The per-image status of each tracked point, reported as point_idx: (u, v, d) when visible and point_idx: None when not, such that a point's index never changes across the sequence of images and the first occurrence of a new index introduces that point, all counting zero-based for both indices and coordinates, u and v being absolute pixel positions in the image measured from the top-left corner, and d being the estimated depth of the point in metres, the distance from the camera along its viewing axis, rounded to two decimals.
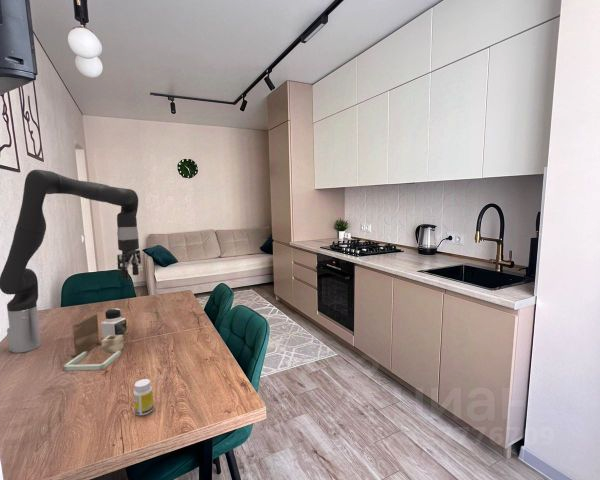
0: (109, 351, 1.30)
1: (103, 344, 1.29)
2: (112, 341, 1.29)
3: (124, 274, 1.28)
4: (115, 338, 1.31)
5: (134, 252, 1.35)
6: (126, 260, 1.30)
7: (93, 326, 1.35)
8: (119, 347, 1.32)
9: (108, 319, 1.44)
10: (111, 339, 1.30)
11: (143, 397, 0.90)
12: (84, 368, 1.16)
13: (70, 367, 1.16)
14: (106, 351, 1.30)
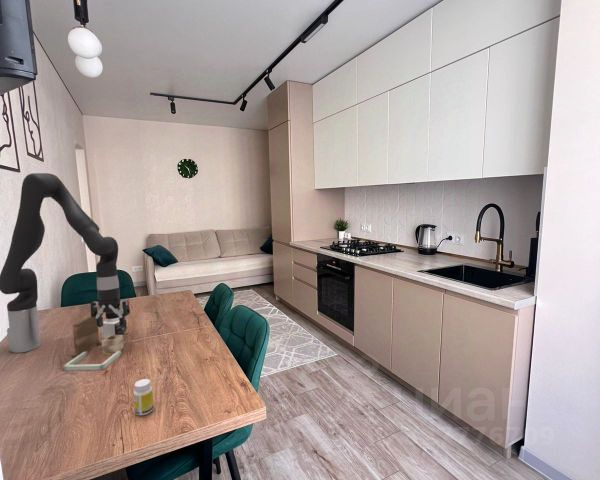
0: (109, 351, 1.30)
1: (103, 344, 1.29)
2: (112, 341, 1.29)
3: (124, 320, 1.31)
4: (115, 338, 1.31)
5: None
6: (117, 308, 1.31)
7: (93, 326, 1.35)
8: (119, 347, 1.32)
9: (108, 319, 1.44)
10: (111, 339, 1.30)
11: (143, 397, 0.90)
12: (84, 368, 1.16)
13: (70, 367, 1.16)
14: (106, 351, 1.30)
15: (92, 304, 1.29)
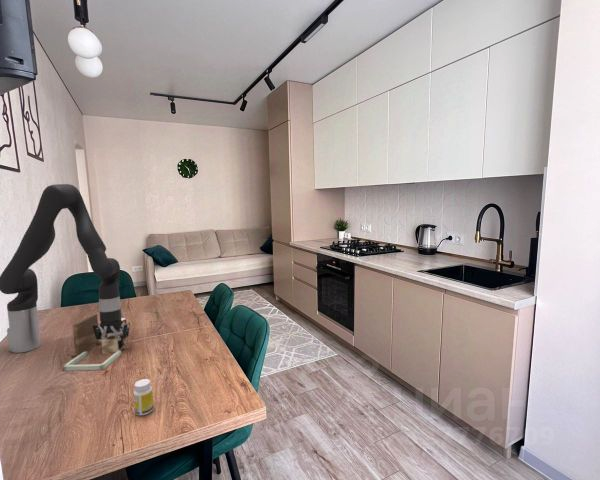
0: (109, 350, 1.30)
1: (103, 344, 1.29)
2: (112, 341, 1.29)
3: (123, 342, 1.33)
4: (115, 338, 1.31)
5: None
6: None
7: None
8: None
9: None
10: (111, 338, 1.30)
11: (143, 397, 0.90)
12: (84, 368, 1.16)
13: (70, 367, 1.16)
14: (106, 351, 1.30)
15: (94, 327, 1.30)
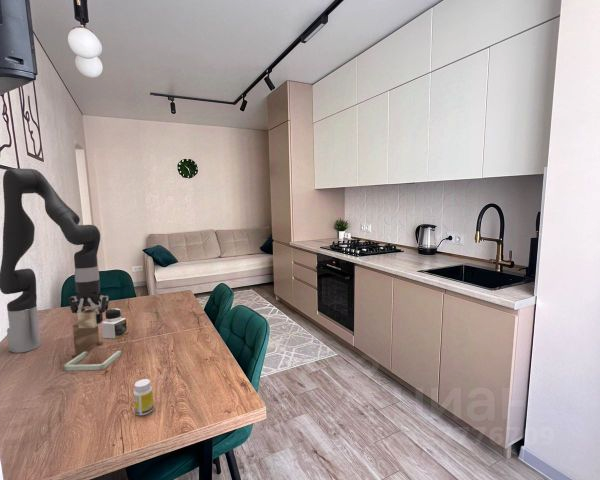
0: (86, 325, 1.19)
1: (79, 318, 1.18)
2: (89, 315, 1.18)
3: (101, 317, 1.22)
4: (93, 311, 1.20)
5: None
6: None
7: None
8: None
9: (108, 319, 1.44)
10: (88, 312, 1.19)
11: (143, 397, 0.90)
12: (84, 368, 1.16)
13: (70, 367, 1.16)
14: (83, 325, 1.19)
15: (70, 299, 1.19)
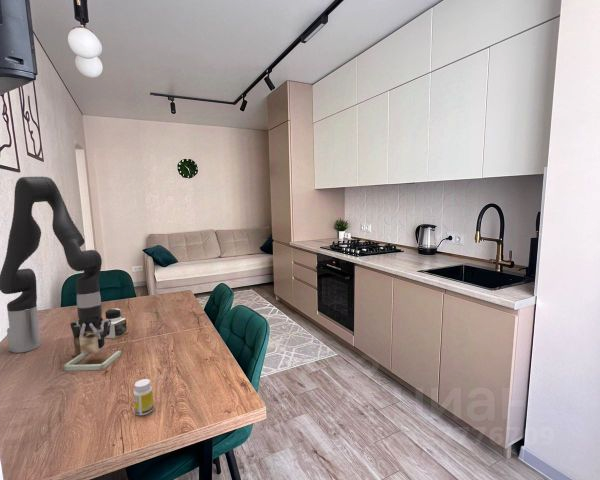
0: (88, 350, 1.19)
1: (81, 343, 1.19)
2: (91, 340, 1.19)
3: (103, 341, 1.22)
4: (95, 336, 1.21)
5: None
6: (98, 327, 1.22)
7: None
8: None
9: (108, 319, 1.44)
10: (90, 337, 1.20)
11: (143, 397, 0.90)
12: (84, 368, 1.16)
13: (70, 367, 1.16)
14: (85, 350, 1.19)
15: (72, 324, 1.20)
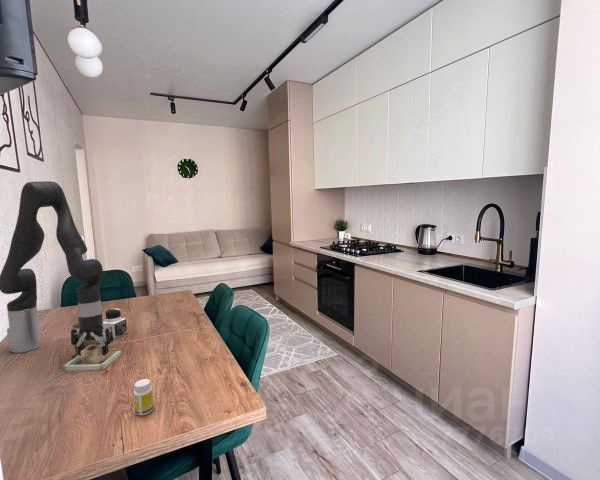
0: (89, 362, 1.20)
1: (82, 355, 1.20)
2: (92, 352, 1.20)
3: (107, 348, 1.23)
4: (96, 348, 1.21)
5: None
6: (100, 335, 1.22)
7: None
8: (100, 358, 1.23)
9: (108, 319, 1.44)
10: (91, 349, 1.21)
11: (143, 397, 0.90)
12: (84, 368, 1.16)
13: (70, 367, 1.16)
14: (86, 362, 1.20)
15: (73, 331, 1.20)
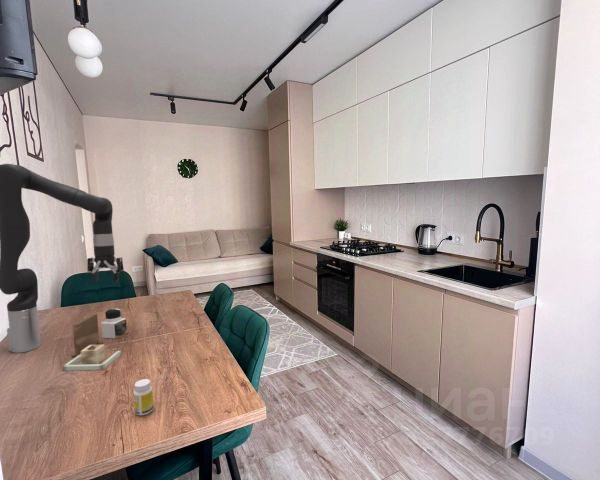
0: (89, 362, 1.20)
1: (82, 355, 1.20)
2: (92, 352, 1.20)
3: (118, 276, 1.41)
4: (96, 348, 1.21)
5: None
6: (112, 264, 1.40)
7: (93, 326, 1.35)
8: (100, 358, 1.23)
9: (108, 319, 1.44)
10: (91, 349, 1.21)
11: (143, 397, 0.90)
12: (84, 368, 1.16)
13: (70, 367, 1.16)
14: (86, 362, 1.20)
15: (89, 260, 1.39)
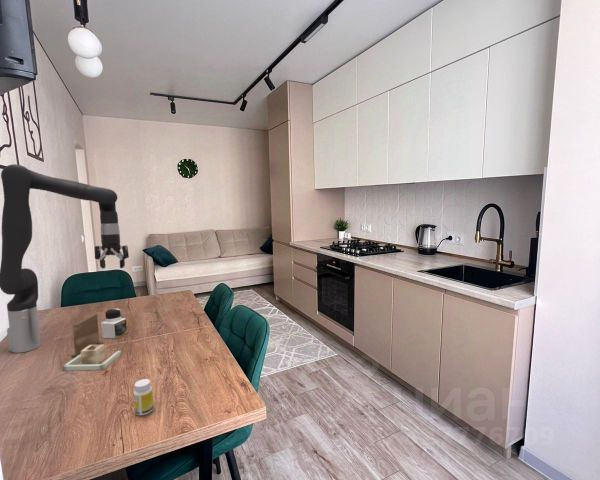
0: (89, 362, 1.20)
1: (82, 355, 1.20)
2: (92, 352, 1.20)
3: (124, 262, 1.51)
4: (96, 348, 1.21)
5: None
6: (118, 251, 1.51)
7: (93, 326, 1.35)
8: (100, 358, 1.23)
9: (108, 319, 1.44)
10: (91, 349, 1.21)
11: (143, 397, 0.90)
12: (84, 368, 1.16)
13: (70, 367, 1.16)
14: (86, 362, 1.20)
15: (96, 247, 1.49)
